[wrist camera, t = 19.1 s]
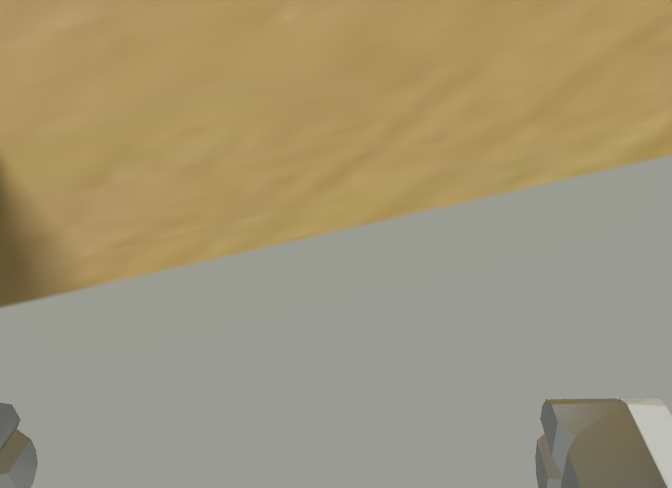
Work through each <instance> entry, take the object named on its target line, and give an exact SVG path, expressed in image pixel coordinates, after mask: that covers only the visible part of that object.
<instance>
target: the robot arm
mask: <svg viewBox="0 0 672 488" xmlns="http://www.w3.org/2000/svg"><path fill="white" fill-rule="evenodd" d="M540 419H541V422H542V425H543V429H544V432H545V434H544V435H543V436H542V437H540V438H539V439H538V440H537V447H536V475H537V481H538V487H539V488H672V415H671V413H670V412H669V410H668V408H667V407H666V405H665V403H663V402H662V401H661V400H659V399H658V398H634V399H633V398H627V399H626V398H625V399H552V400H545V402H544V404H543V406H542V412H541V418H540ZM19 422H20V418H19V416H18V414H17V413H16V411H15V409H14V408H13V406H12V405H10V404H4V403H0V488H30V487H31V486H32V484H33V481H34V477H35V472H36V468H37V455H36V449H35V447H34V445H33V443H32V441H31V439H30V438H28V437H27V436H25V435H24V434H23V433H21V432H20V431H18V430H17V427H18V424H19Z"/></svg>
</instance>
